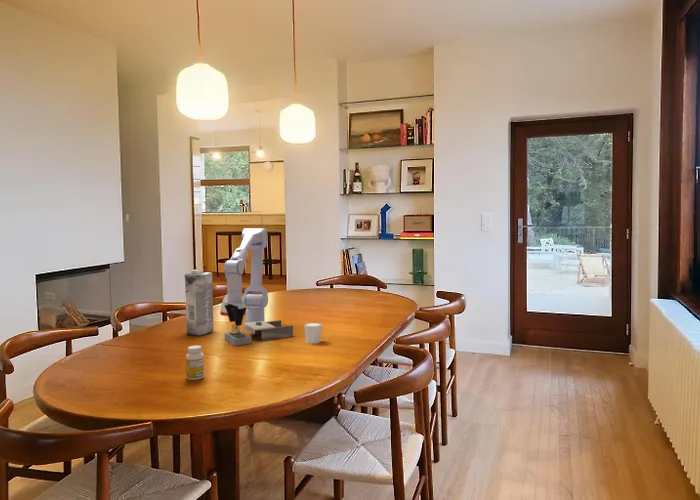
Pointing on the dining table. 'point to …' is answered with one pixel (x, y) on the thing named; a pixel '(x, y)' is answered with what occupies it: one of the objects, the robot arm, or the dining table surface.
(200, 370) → the supplement bottle
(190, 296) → the juice carton
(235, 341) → the socket board
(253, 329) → the lid
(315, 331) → the white cup
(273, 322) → the housing
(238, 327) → the pin
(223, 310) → the kitchen timer
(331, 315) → the dining table surface
